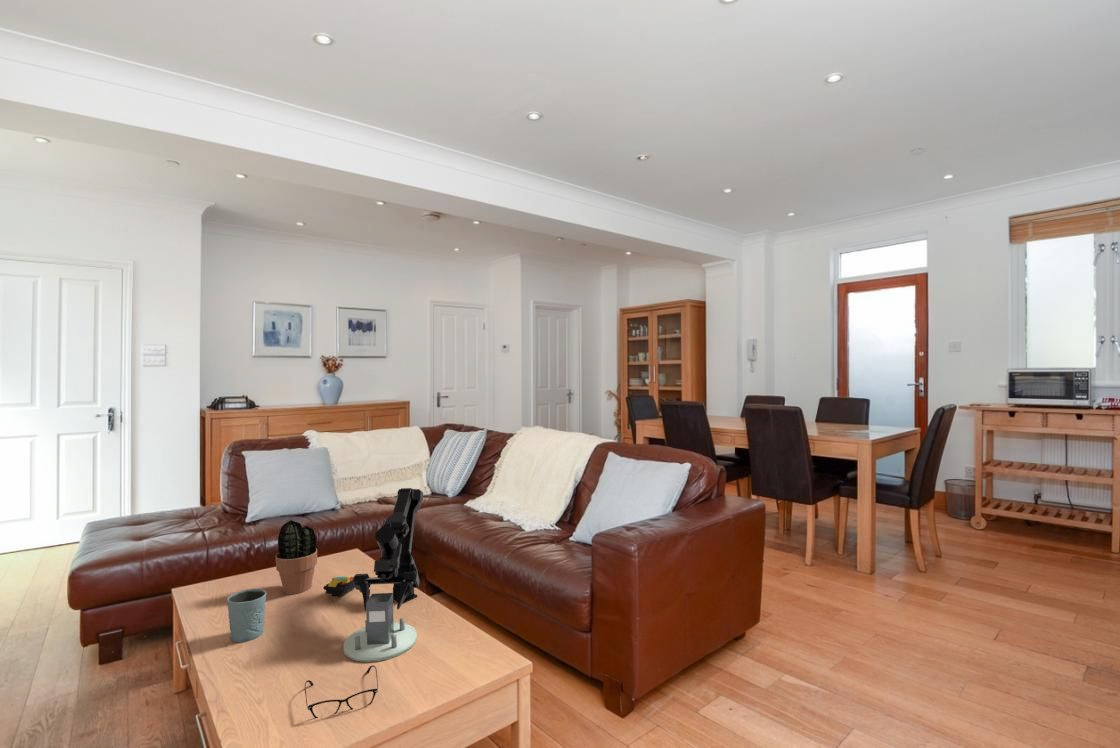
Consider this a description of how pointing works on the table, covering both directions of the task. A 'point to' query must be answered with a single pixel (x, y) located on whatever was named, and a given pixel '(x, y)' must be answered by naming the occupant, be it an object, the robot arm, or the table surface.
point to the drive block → (379, 618)
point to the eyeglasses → (341, 700)
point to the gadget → (339, 586)
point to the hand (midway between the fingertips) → (381, 609)
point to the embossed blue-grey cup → (246, 614)
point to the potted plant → (296, 557)
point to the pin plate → (377, 652)
